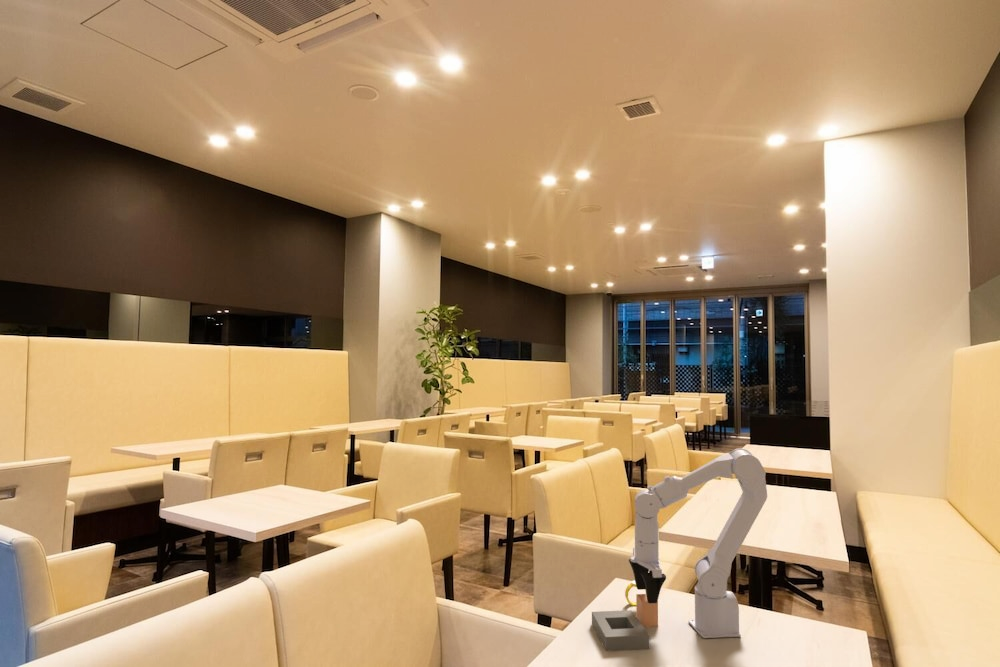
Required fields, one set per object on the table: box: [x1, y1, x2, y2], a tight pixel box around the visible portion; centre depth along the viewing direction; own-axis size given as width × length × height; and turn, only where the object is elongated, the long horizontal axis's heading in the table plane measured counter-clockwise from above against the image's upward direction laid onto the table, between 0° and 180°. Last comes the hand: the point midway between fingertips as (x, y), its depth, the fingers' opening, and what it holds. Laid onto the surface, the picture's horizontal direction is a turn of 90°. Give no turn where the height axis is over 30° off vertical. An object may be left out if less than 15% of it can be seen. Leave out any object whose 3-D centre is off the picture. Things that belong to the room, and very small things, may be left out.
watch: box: [624, 579, 646, 607], centre depth 144 cm, size 6×3×6 cm, turn 94°
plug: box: [635, 593, 659, 627], centre depth 134 cm, size 4×4×6 cm
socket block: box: [591, 609, 650, 652], centre depth 127 cm, size 10×12×3 cm
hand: (646, 595), depth 134 cm, fingers open, 7 cm apart
